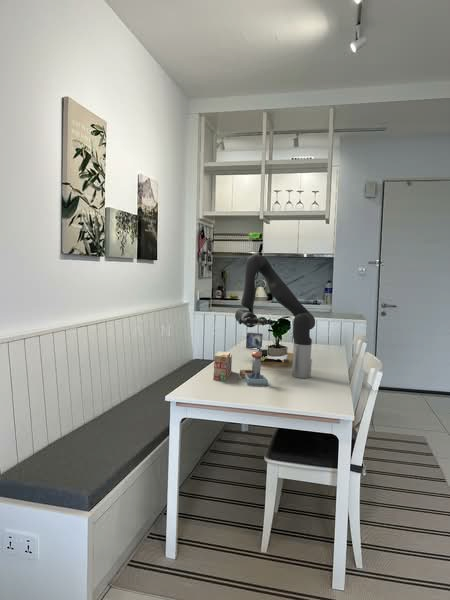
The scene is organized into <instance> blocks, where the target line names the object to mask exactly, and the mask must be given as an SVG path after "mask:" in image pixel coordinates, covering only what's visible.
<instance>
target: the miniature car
mask: <svg viewBox="0 0 450 600" xmlns="http://www.w3.org/2000/svg"><path fill="white" fill-rule="evenodd" d="M268 347H269V346H264V347H263V346H262V347H261V348H260V349H259V350H257V352H262V357H263V356H264V357H265V356H267V350H268Z"/></svg>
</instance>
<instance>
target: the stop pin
mask: <svg viewBox="0 0 450 600" xmlns="http://www.w3.org/2000/svg"><path fill="white" fill-rule="evenodd" d="M251 357H252V364H251V365H252V366H251V370H252V379H260V374H261V367H262V366H261V365H262V362H261V357H262V352H258V350H257V351H252V355H251Z"/></svg>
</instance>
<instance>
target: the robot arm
mask: <svg viewBox="0 0 450 600" xmlns="http://www.w3.org/2000/svg"><path fill="white" fill-rule="evenodd" d="M258 273H260V275H262V276H263V278H264V279H265V280H266V283H267V287H268V290H269V292H270V295H272V297H273V298H274V299H275V300H276V302H278V304H279V305H281V306H282V307H284V308H285V309H287V310H288V311H289V312H290V313H291V314H292V316H294V318H293V322H292V337H293V338H292V339H293V349H292V351H293V352H292V365H291V376H292V377H294V378H297V379H298V378H299V379H308V378H309V379H310V378H311V377H312V376H311V374H312V363H313V361H312V357H311V356H312V344H313V339H312V338H311V336H310V333H311V332H310V331H311V330H312V329H314V327H315V326H316V319H315V317H314V315H313V314H312V313H311V312H310V311H309V310H308V309H307V308H306V306H304V305H303V303H301V301H299V299H298V297H296V295H295V294H294V293H293V292H292V290H291V289H290V288H289V286H288V285H287V284H286V283H285V281H283V280H282V278H281V277H280V276H279V274H277V272H276V271H275V270H274V268H273V267H272V265H271V263H270V262H269V261H268V259H267V258H266V256H264V255H262V254H253V255H250V256H248V258H247V259H246V262H245V277H244V288H243V292H242V297H241V302H240V303H241V306H242V307H244V308H246V309H247V310H246V309H238V310H236V311H235V313H234V315H235V316H234V318H235V321H236V322H237V323H238V325H244V326H246V327H248V328H254V327H256V326H262V327H263V326H264V325H265V326H267V325H268V323H267V321H268V320H267V319H266V318H262V319H261V318H260V317H257V315H256V314H255V313H254V304H255V299H256V295H257V294H256V293H257V291H256V284H255V283H256V280H255V279H256V275H257V274H258Z"/></svg>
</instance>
